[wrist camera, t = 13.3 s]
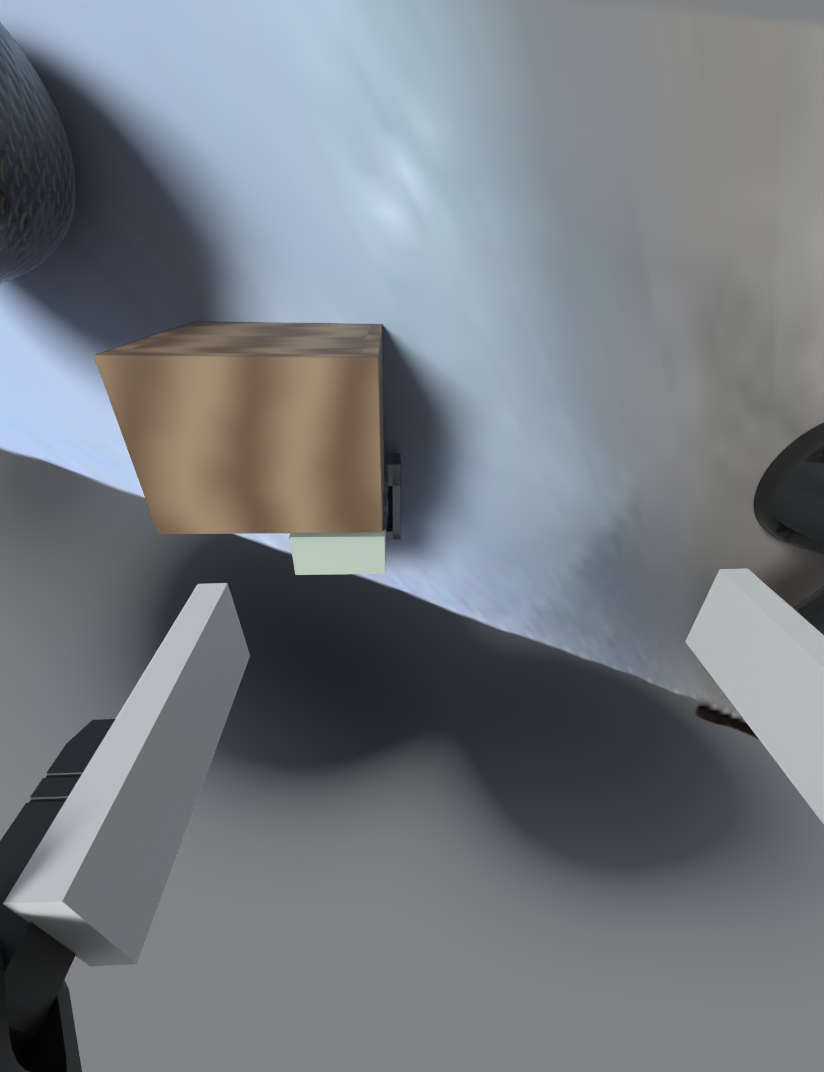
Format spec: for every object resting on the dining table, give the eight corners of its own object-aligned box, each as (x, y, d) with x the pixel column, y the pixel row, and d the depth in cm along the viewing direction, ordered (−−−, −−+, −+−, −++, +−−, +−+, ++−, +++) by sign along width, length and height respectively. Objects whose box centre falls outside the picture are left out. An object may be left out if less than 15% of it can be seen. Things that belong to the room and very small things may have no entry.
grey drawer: (400, 453, 44) (403, 513, 34) (399, 525, 49) (402, 597, 39) (289, 453, 44) (258, 514, 33) (300, 526, 48) (276, 599, 38)
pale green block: (385, 480, 46) (384, 536, 36) (386, 520, 48) (385, 582, 39) (309, 480, 45) (289, 537, 36) (314, 520, 48) (296, 583, 39)
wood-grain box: (382, 324, 37) (377, 358, 25) (384, 453, 44) (382, 532, 31) (195, 321, 37) (93, 355, 24) (225, 453, 43) (158, 534, 31)
